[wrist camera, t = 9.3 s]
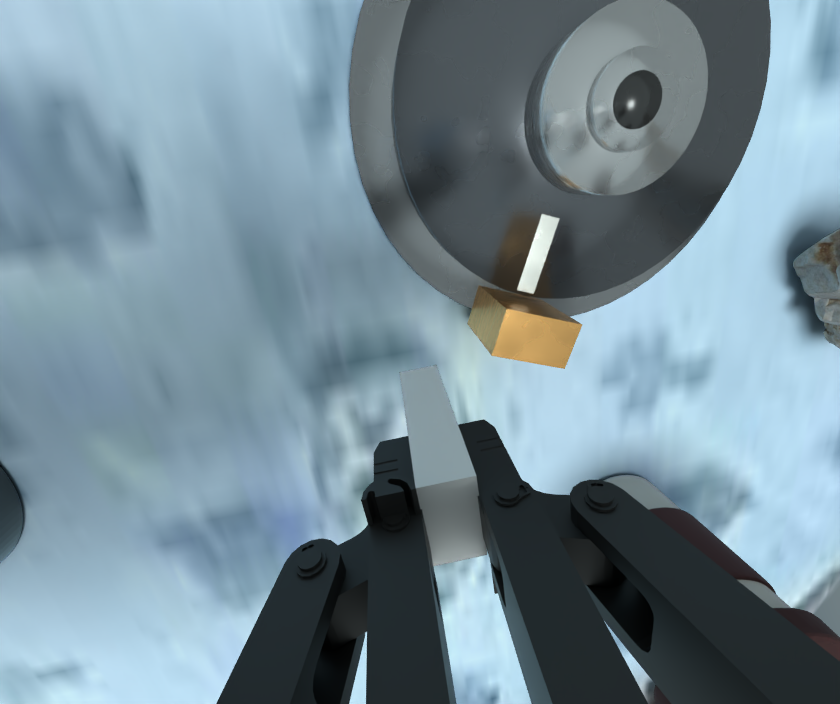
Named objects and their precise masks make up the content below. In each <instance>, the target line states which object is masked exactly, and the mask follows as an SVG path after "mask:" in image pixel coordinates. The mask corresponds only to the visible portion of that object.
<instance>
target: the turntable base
mask: <svg viewBox="0 0 840 704" xmlns="http://www.w3.org/2000/svg"><path fill="white" fill-rule="evenodd" d="M410 1H411V0H364V2H363V5H362V8H361V11H360V15H359V20H358V25H357V30H356V35H355V40H354V44H353V49H352V60H351V71H350V83H349V97H350V123H351V131H352V138H353V145H354V152H355V156H356V160H357V164H358V168H359V172H360V176H361V179H362V183H363V186H364V188H365V191H366V194H367V196H368V199H369V201H370V204H371V206H372V209H373V211H374V213H375V215H376V217H377V219H378V221H379V222H380V224H381V226H382V228H383V230H384V232H385V233H386V235H387V237H388V238H389V240H390V241H391V242H392V244H393V245H394V247H395V248H396V249H397V251H398V252H399V253H400V255H401V256H402V258H403V259H404V260H405V261H406V262H407V263H408V264H409V265H410V266H411V267H412V268H413V269H414V270H415V271H416V272H417V274H418V275H419V276H421V277H422V278H423V279H424V280H425V281H427V282H428V283H429V284H430V285H432V286H433V287H434V288H435V289H437V290H438V291H439V292H441V293H443V294H444V295H446V296H448V297H449V298H451V299H452V300H454V301H456V302H457V303H460V304H462V305H464V306H467V307H469V308H471V309H472V306H473V303H474V300H475V296H476V293H477V289H478V286H484V287H488V288H493V289H498V290H502V291H507V290H504V289H502V288H500V287H497V286H495V285H493V284H491V283H489V282H486V281H485V280H483V279H482V278H480V277H479V276H477V275H475V274H474V273H472V272H471V271H469V270H468V269H467V268H465V267H464V266H463V265H461V264H460V263H459V262H458V261H457V260H455V259H454V258H453V257H452V256H451V255H450V254H448V253H447V252H446V251H445V250H444V249H443V248H442V247H441V246H440V244H439V243H438V242H437V241H436V240H435V239H434V238H433V236H432V235H431V234H430V233H429V231H428V230H427V228H426V227H425V225H424V224H423V222H422V221H421V219H420V218H419V216H418V214H417V212H416V210H415V208H414V206H413V204H412V202H411V200H410V198H409V196H408V194H407V191H406V188H405V185H404V182H403V180H402V177H401V174H400V171H399V166H398V162H397V157H396V153H395V148H394V141H393V132H392V122H391V90H392V82H393V74H394V66H395V59H396V55H397V50H398V45H399V41H400V37H401V33H402V28H403V24H404V20H405V16H406V12H407V9H408V7H409V4H410ZM722 195H723V194H722ZM720 198H721V197H720ZM719 200H720V199H719ZM718 202H719V201H718ZM718 202H717V203H718ZM716 205H717V204H716ZM716 205H715V206H716ZM714 208H715V207H714ZM714 208H713V209H714ZM713 209H712V210H711V212H712V211H713ZM711 212H710V213H709V214H708V215H707V217H706V218H705V219H704V220H703V222H702V223H701V224H700V225H699V227H698V228H697V229H696V230H695V231H694V232H693V233H692V234H691V235H690V236H689V237H688V238H687V239H686V240H685V241H684V242H683V243H682V244H681V245H680V246H679V247H678V248H677V249H675V250H674V251H673V252H672V253H671V254H669V255H668V256H667V257H666V258H665V259H663V260H662V261H661V262H659V263H658V264H656V265H655V266H653V267H652V268H650V269H649V270H647V271H646V272H644V273H643V274H641V275H639V276H637V277H635V278H633V279H631V280H629V281H628V282H626V283H623V284H621V285H618V286H616V287H613V288H611V289H608V290H606V291H602V292H598V293H594V294H591V295H587V296H581V297H573V298H565V299H546V298H539V299H541V300H543V301H545V302H546V303H548V304H550V305H551V306H553V307H554V308H556V309H558V310H559V311H561V312H563V313H564V314H566V315H567V316H569V317H570V316H573V315H577V314H581V313H585V312H588V311H591V310H593V309H596V308H599V307H601V306H604V305H606V304H609V303H611V302H613V301H614V300H616V299H618V298H620V297H622V296H624V295H626V294H628V293H630V292H631V291H633V290H634V289H636V288H637V287H639V286H640V285H641V284H643V283H644V282H646V281H647V280H649V279H650V278H651V277H653V276H654V275H655V274H656V273H657V272H659V271H660V270H661V269H662V268H663V267H665V266H666V265H667V264H668V263H669V262H670V261H671V260H672V259H673V258H674V257H675V256H676V255H677V254H678V253H679V252H680V251H681V250H682V249H683V248H684V247H685V246H686V245H687V244H688V243H689V241H690V240H691V239H692V238H693V236H694V235H695V234H696V233H697V231H698V230H699V229H700V228H701V227H702V225H703V224H704V223H705V221H706V220H707V218H708V217H709V215H710V214H711ZM507 292H510V291H507ZM511 293H514V292H511ZM516 294H517V293H516ZM534 298H537V297H534Z"/></svg>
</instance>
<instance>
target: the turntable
mask: <svg viewBox="0 0 840 704" xmlns="http://www.w3.org/2000/svg"><path fill="white" fill-rule="evenodd" d="M615 1H618V0H411V1H410V4H409V7H408V9H407V12H406V16H405V20H404V24H403V28H402V33H401V37H400V41H399V45H398V50H397V55H396V59H395V66H394V74H393V82H392V90H391V122H392V132H393V141H394V148H395V153H396V157H397V162H398V166H399V171H400V174H401V177H402V180H403V182H404V185H405V188H406V191H407V194H408V196H409V198H410V200H411V202H412V204H413V206H414V208H415V210H416V212H417V214H418V216H419V218H420V219H421V221H422V222H423V224H424V225H425V227H426V228H427V230H428V231H429V233H430V234H431V235H432V236H433V238H434V239H435V240H436V241H437V242H438V243H439V244H440V246H441V247H442V248H443V249H444V250H445V251H446V252H447V253H448V254H450V255H451V256H452V257H453V258H454V259H455V260H457V261H458V262H459V263H460V264H461V265H463V266H464V267H465V268H467V269H468V270H469V271H471V272H472V273H474V274H475V275H477V276H479V277H480V278H482V279H483V280H485V281H486V282H489V283H491V284H493V285H495V286H497V287H500V288H502V289H504V290H507V291H510V292H507V291H502V290H498V289H493V288H488V287H484V286H478V289H477V293H476V296H475V300H474V303H473V306H472V310H471V313H470V317H469V320H468V325H469V326H470V328H471V329H472V330H473V332H474V333H475V334H476V336H477V337H478V338H479V340H480V341H481V342H482V343H483V345H484V346H485V347H486V349H487V350H488V351H489V353H490V354H491V355H492V356H497V357H503V358H508V359H514V360H519V361H525V362H530V363H536V364H541V365H547V366H552V367H558V368H563V369H565V366H566V364H567V362H568V359H569V357H570V354H571V352H572V349H573V347H574V344H575V342H576V339H577V337H578V334H579V332H580V329H581V327H582V324H580V323H579V322H577V321H576V320H574V319H572V318H571V317H569V316H567V315H566V314H564V313H563V312H561V311H559V310H558V309H556V308H554V307H553V306H551V305H550V304H548V303H546V302H545V301H543V300H541V299H539V298H546V299H565V298H573V297H581V296H587V295H591V294H594V293H598V292H602V291H606V290H608V289H611V288H613V287H616V286H618V285H621V284H623V283H626V282H628V281H629V280H631V279H633V278H635V277H637V276H639V275H641V274H643V273H644V272H646V271H647V270H649V269H650V268H652V267H653V266H655V265H656V264H658V263H659V262H661V261H662V260H663V259H665V258H666V257H667V256H668V255H669V254H671V253H672V252H673V251H674V250H675V249H677V248H678V247H679V246H680V245H681V244H682V243H683V242H684V241H685V240H686V239H687V238H688V237H689V236H690V235H691V234H692V233H693V232H694V231H695V230H696V229H697V228H698V227H699V225H700V224H701V223H702V222H703V220H704V219H705V218H706V217H707V215H708V214H709V213H710V212H711V210H712V209H713V208H714V207H715V205H716V204H717V202H718V201H719V199H720V197H721V196H722V194H723V193H724V191H725V190H726V188H727V187H728V185H729V183H730V182H731V180H732V178H733V176H734V174H735V172H736V170H737V168H738V167H739V165H740V163H741V161H742V158H743V156H744V154H745V151H746V149H747V147H748V144H749V142H750V140H751V137H752V134H753V131H754V128H755V125H756V122H757V119H758V115H759V112H760V109H761V105H762V100H763V95H764V91H765V86H766V82H767V74H768V66H769V57H770V30H771V20H770V9H769V0H666V1H668V2H670V3H672V4H674V5H675V6H676V7H678V8H679V9H680V10H682V11H683V12H684V13H685V14H686V15H687V16H688V17H689V19H690V20H691V21H692V23H693V24H694V26H695V27H696V29H697V31H698V33H699V35H700V37H701V39H702V43H703V46H704V49H705V53H706V59H707V66H708V87H707V95H706V101H705V106H704V109H703V113H702V116H701V119H700V122H699V125H698V127H697V129H696V132H695V134H694V136H693V138H692V140H691V141H690V143H689V145H688V146H687V148H686V150H685V151H684V152H683V154H682V155H681V156H680V158H679V159H678V160H677V161H676V162H675V164H674V165H673V166H672V167H671V168H670V169H669V170H668V171H667V172H666V173H664V174H663V175H662V176H661V177H660V178H658V179H657V180H655V181H654V182H653V183H651V184H649V185H647V186H646V187H644V188H642V189H639V190H637V191H634V192H631V193H627V194H622V195H576V194H571V193H568V192H565V191H562V190H560V189H558V188H556V187H555V186H553V185H552V184H551V183H549V182H548V181H547V180H546V179H545V178H544V177H543V176H542V175H541V174H540V172H539V171H538V169H537V168H536V166H535V165H534V163H533V161H532V159H531V156H530V154H529V151H528V148H527V143H526V139H525V131H524V113H525V105H526V100H527V95H528V92H529V89H530V86H531V83H532V80H533V78H534V76H535V74H536V71H537V70H538V68H539V66H540V64H541V63H542V61H543V60H544V58H545V57H546V56H547V54H548V53H549V52H550V50H551V49H552V48H553V47H554V46H555V45H556V44H557V43H558V42H559V41H560V40H562V39H563V38H564V37H565V36H567V35H568V34H569V33H570V32H572V31H573V30H574V29H575V28H577V27H578V26H579V25H581V24H582V23H583V22H584V21H586V20H587V19H588V18H589V17H591V16H592V15H593V14H594V13H596V12H597V11H599V10H600V9H602V8H603V7H605V6H607V5H608V4H611V3H613V2H615ZM511 292H514V293H511ZM516 293H517V294H516ZM534 297H537V298H534Z"/></svg>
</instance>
